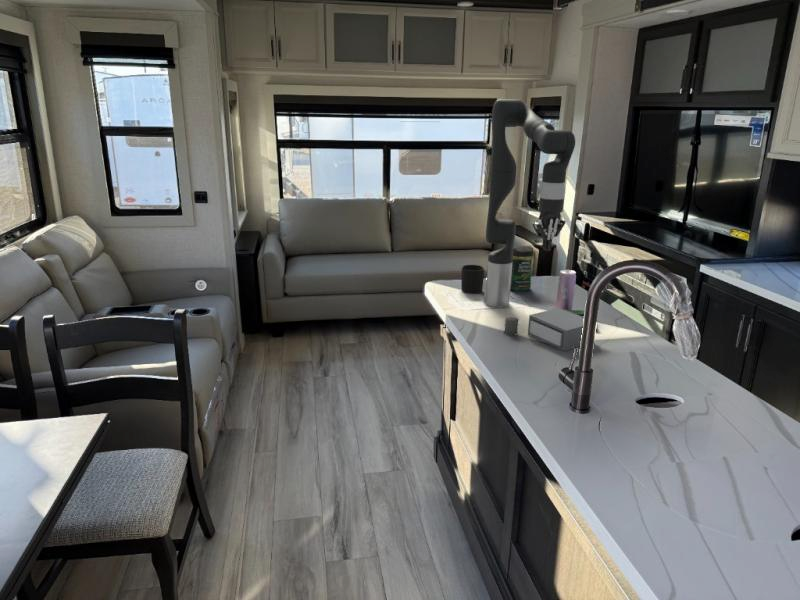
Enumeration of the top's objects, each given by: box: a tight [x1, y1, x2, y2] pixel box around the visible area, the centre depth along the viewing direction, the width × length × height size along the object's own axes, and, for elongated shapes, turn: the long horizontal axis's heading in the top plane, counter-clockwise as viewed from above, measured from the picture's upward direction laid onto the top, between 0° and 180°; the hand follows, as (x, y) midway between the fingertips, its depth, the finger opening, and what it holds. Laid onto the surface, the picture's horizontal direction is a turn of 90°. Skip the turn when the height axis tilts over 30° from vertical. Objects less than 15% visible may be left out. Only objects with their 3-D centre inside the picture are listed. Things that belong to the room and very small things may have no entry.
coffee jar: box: [510, 245, 535, 292], centre depth 234 cm, size 10×8×19 cm
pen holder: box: [460, 264, 485, 295], centre depth 232 cm, size 9×9×10 cm
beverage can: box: [555, 269, 577, 310], centre depth 211 cm, size 6×6×15 cm
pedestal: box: [503, 316, 519, 336], centre depth 190 cm, size 4×4×5 cm
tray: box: [530, 320, 563, 346], centre depth 185 cm, size 13×13×4 cm
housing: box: [527, 307, 584, 352], centre depth 185 cm, size 16×14×7 cm
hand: (546, 250), depth 181 cm, fingers closed
